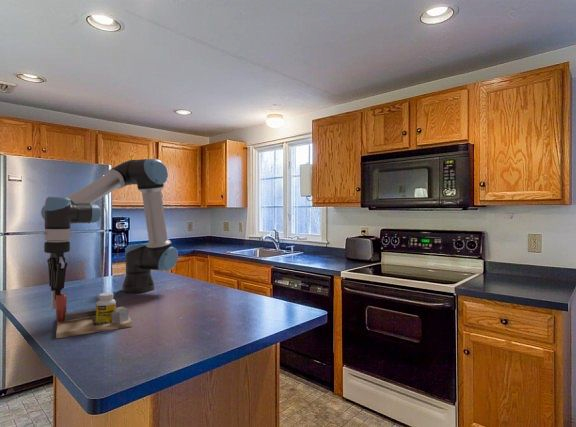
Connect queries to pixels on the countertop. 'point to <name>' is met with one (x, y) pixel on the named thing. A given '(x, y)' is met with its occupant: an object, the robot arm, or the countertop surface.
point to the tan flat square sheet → (86, 326)
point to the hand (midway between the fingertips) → (56, 308)
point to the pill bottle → (105, 308)
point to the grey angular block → (120, 316)
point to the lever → (64, 316)
